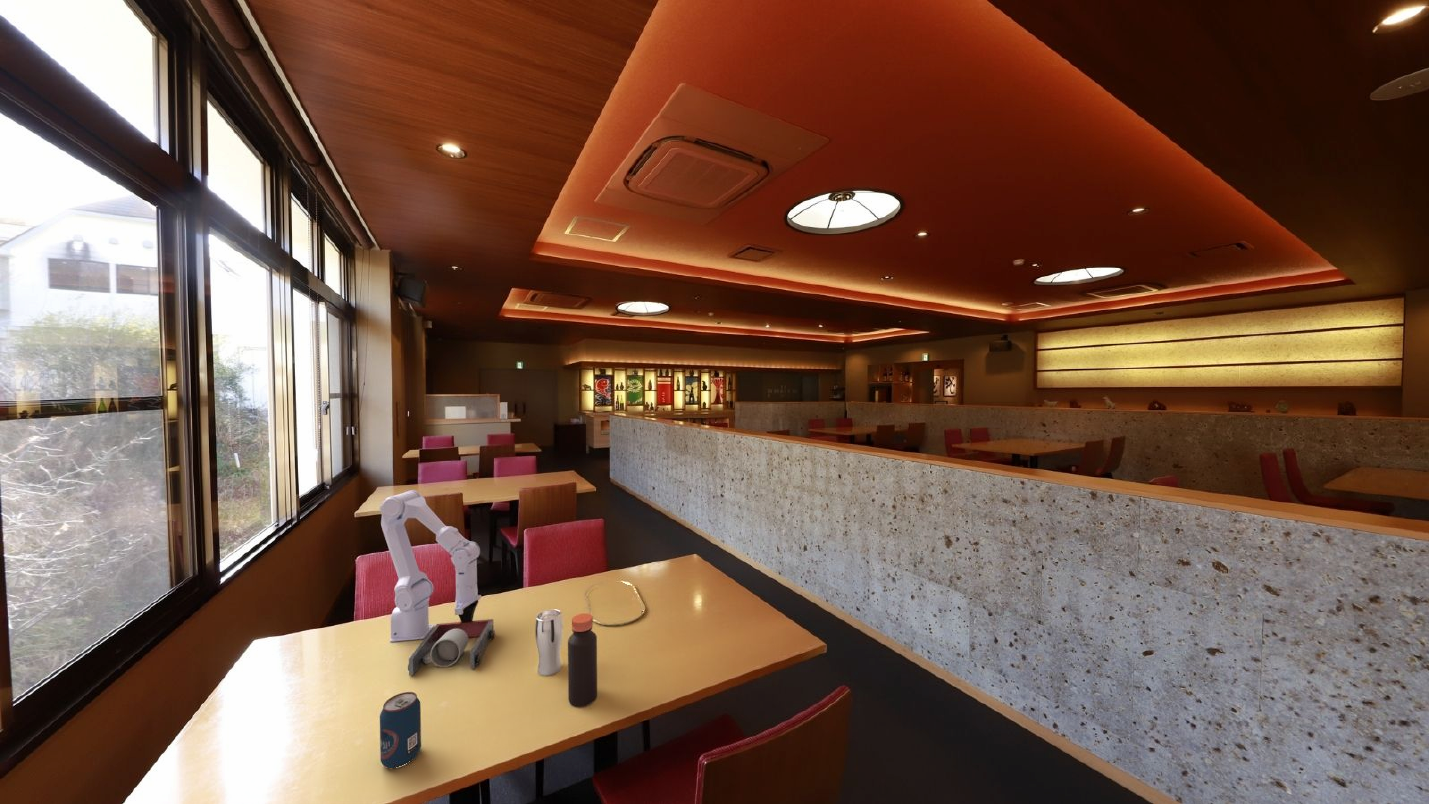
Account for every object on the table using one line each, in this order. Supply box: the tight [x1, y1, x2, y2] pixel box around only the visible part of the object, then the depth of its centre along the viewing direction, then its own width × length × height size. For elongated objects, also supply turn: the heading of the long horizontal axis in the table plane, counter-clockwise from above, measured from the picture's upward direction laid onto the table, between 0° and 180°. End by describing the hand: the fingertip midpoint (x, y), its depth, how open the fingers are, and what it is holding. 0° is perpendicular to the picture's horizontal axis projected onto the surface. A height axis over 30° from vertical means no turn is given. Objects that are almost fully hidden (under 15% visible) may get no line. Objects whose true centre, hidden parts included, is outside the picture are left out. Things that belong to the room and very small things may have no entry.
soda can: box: [379, 691, 422, 769], centre depth 95 cm, size 7×7×12 cm
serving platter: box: [583, 579, 646, 627], centre depth 164 cm, size 19×35×2 cm, turn 21°
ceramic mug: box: [423, 628, 469, 668], centre depth 130 cm, size 11×8×8 cm
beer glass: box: [534, 608, 564, 677], centre depth 125 cm, size 7×7×15 cm
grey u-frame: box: [407, 618, 496, 676], centre depth 133 cm, size 18×18×4 cm
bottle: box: [567, 612, 598, 708], centre depth 113 cm, size 7×7×20 cm
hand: (467, 626), depth 143 cm, fingers closed
